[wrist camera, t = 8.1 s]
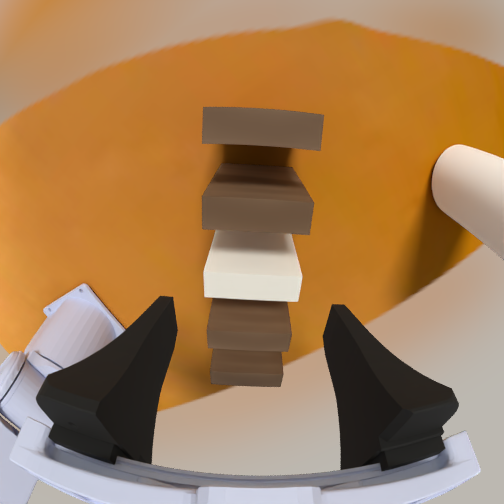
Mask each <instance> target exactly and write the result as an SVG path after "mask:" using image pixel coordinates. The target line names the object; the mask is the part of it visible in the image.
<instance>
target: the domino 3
mask: <svg viewBox="0 0 504 504" xmlns="http://www.w3.org/2000/svg"><path fill="white" fill-rule="evenodd" d="M301 282H302V273H301V269H300V265H299V261H298V258H297V254H296V250H295V246H294V242H293V239H292V235H291V234H285V233H267V232H249V231H229V230H216V231H215V235H214V238H213V241H212V245H211V248H210V251H209V255H208V258H207V262H206V265H205V268H204V294H205V297H213V298H228V299H246V300H266V301H291V302H298V299H299V293H300V288H301Z"/></svg>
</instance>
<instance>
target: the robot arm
mask: <svg viewBox="0 0 504 504" xmlns="http://www.w3.org/2000/svg"><path fill="white" fill-rule="evenodd" d="M82 290H83V291H82ZM43 311H44V313H45V314H46V315H47V318H46V320H45V321H44V323H43V324H42V325H41V327H40V328H39V329H38V331H37V332H36V334H35V335H34V337H33V338H32V340H31V341H30V342H29V344H28V345H27V347H26V349H25V352H24V353H23V352H22V351H18V352H17V351H13V352H12V353H11V354H10V355H9V356H8V357H7V358H6V359H5V361H4V362H3V363H2V364H1V366H0V413H1V414H2V415H3V416H4V417H5V418H7V419H8V420H9V421H10V422H11V423H13V424H14V425H15V426H17V427H18V428H19V429H20V432H19V431H18V430H17V429H15V428H14V427H13V426H12V425H10V424H9V423H8V422H7V421H5V420H4V419H3V418H2V417H1V416H0V504H27V503H28V500H29V498H30V496H31V493H32V491H33V489H34V487H35V485H36V482H37V481H38V480H40V481H42V482H44V483H46V484H48V485H50V486H52V487H54V488H56V489H58V490H60V491H62V492H64V493H66V494H68V495H71V496H73V497H75V498H77V499H80V500H82V501H85V502H87V503H89V504H421V503H423V502H426V501H428V500H430V499H432V498H435V497H437V496H440V495H442V494H444V493H446V492H448V491H450V490H452V489H454V488H455V487H457V486H459V485H461V484H463V483H464V482H466V481H467V480H469V479H471V478H472V477H474V476H476V475H477V474H479V473H480V471H481V470H480V467H479V464H478V461H477V458H476V455H475V453H474V450H473V447H472V445H471V442H470V439H469V437H468V434H467V432H466V431H462V432H460V433H457V434H455V435H452V436H450V437H448V438H446V439H444V440H442V437H441V435H442V434H443V433H444V430H443V428H442V426H443V425H444V424H445V423H446V422H447V421H448V420H449V419H450V418H451V416H453V415H454V413H455V412H456V411H457V409H458V406H459V403H458V401H457V399H456V397H455V394H454V393H453V390H452V388H449V387H447V386H445V385H442V384H440V383H438V382H436V381H434V380H432V379H429V378H428V377H426V376H424V375H422V374H421V373H419V372H417V371H416V370H414V369H413V368H411V367H410V366H408V365H407V364H405V363H404V362H402V361H401V360H400V359H398V358H397V357H396V356H395V355H393V354H392V353H391V352H390V351H389V350H388V349H386V348H385V347H384V346H383V345H382V344H381V343H380V342H379V341H378V340H377V339H376V338H375V337H374V336H373V335H372V334H371V333H370V332H369V331H368V330H367V329H366V328H365V327H364V326H363V325H362V324H361V322H360V321H359V320H358V319H357V318H356V317H355V316H354V315H353V314H352V312H351V311H350V310H349V309H348V308H347V307H346V306H345V305H339V304H332V306H331V310H330V313H329V317H328V320H327V324H326V327H325V331H324V334H323V342H324V350H325V356H326V360H327V364H328V368H329V372H330V375H331V379H332V383H333V387H334V391H335V395H336V400H337V408H338V416H339V427H340V446H341V470H338V471H330V472H322V473H312V474H299V475H282V476H281V475H280V476H245V475H244V476H243V475H224V474H212V473H202V472H194V471H186V470H180V469H174V468H168V467H162V466H157V465H152V464H151V463H152V446H153V437H154V428H155V421H156V414H157V408H158V402H159V397H160V392H161V388H162V385H163V382H164V379H165V375H166V372H167V369H168V366H169V363H170V360H171V357H172V354H173V350H174V347H175V342H176V336H177V331H178V329H177V322H176V315H175V308H174V301H173V297H167V296H160V297H159V298H158V299H157V300H156V301H155V302H154V303H153V304H152V305H151V306H150V307H149V308H148V309H147V310H146V311H145V312H144V313H143V314H142V315H141V316H140V317H139V318H138V319H137V320H136V321H135V322H134V323H133V324H132V325H131V326H129V327H128V328H127V329H126V330H125V329H124V327H123V326H122V325H121V324H120V323H119V322H118V321H117V320H116V318H115V317H114V316H113V315H112V314H111V313H110V312H109V310H108V309H107V308H106V307H105V306H104V304H103V303H102V302H101V301H100V300H99V298H98V297H97V296H96V295H95V294H94V292H93V291H92V290H91V289H90V287H89V286H88V285H87V284H81V285H80V286H78V287H76V288H75V289H73V290H72V291H70V292H68V293H67V294H65V295H64V296H62V297H60V298H59V299H57V300H56V301H54V302H53V303H51V304H49V305H48V306H46V307H45V308H44V309H43Z"/></svg>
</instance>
